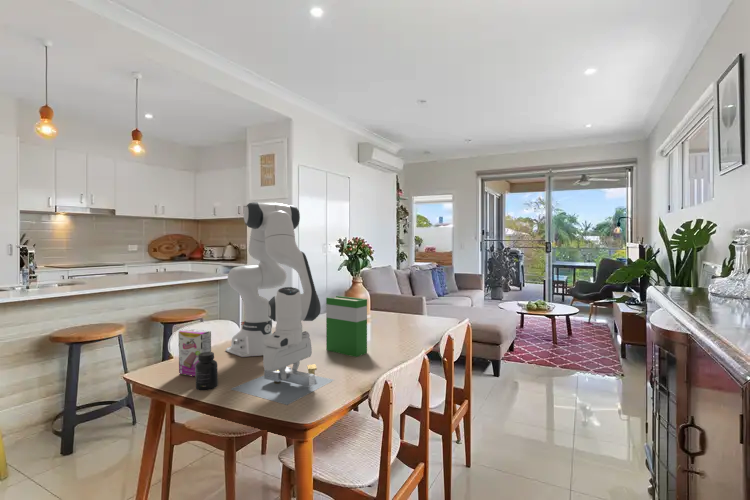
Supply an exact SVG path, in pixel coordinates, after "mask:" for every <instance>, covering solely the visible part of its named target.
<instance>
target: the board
mask: <svg viewBox="0 0 750 500" xmlns="http://www.w3.org/2000/svg"><path fill="white" fill-rule="evenodd" d="M333 381H335V379H332V378H327V377H325V376H323V377H322V376H318V375H315V384H314V385H312V386H310V387H308V386H304V385H299V384H295V383H291V382H286V381H281V383H279V384H275V383H274V381H272V380H268V379H264V375H262V376H259V377H257V378H254V379H251V380H249V381H247V382H244V383H242V384H239V385H237V386H234V387H231V388H230V390H231V391H234V392H235V391H236V392H239V393H243V394H247V395H250V396H254V397H258V398H261V399H264V400H267V401H272V402H275V403H278V404H282V405H285V406H288V405H290V404H292V403H294V402H296V401H298V400H300V399H302V398H303V397H305V396H307V395H309V394H311V393H313V392H315V391H317V390H319V389H320V388H322V387H324V386H326V385H328V384H330V383H332V382H333Z"/></svg>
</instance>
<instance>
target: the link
mask: <svg viewBox="0 0 750 500" xmlns="http://www.w3.org/2000/svg"><path fill="white" fill-rule="evenodd" d="M291 369H292V367H290V366H286V370H285V371H286V373H288V378H287V379H285V380H283V379H282V378H281V373H280V371H274V372H271V371H266V370H265V369H263V376H264V379H268V380H272V381H276V382H279V381H286V382H291V383H295V384H299V385H304V386H308V387H310V386H312V385H314V384H315V376H316V374H315V375H314V374H309V373H308V372H303V371H298V370H297V371H295V370H291Z"/></svg>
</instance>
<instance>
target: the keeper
mask: <svg viewBox="0 0 750 500" xmlns="http://www.w3.org/2000/svg"><path fill="white" fill-rule="evenodd" d="M306 367H307V371H308V372H307V373H309V374H314V375H315V376H316V374H315V371H317V370H318V368H317V365H316V364H315V363H314V364H307V365H306Z"/></svg>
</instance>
